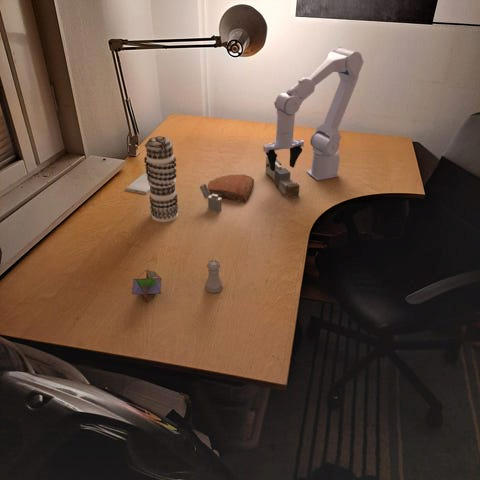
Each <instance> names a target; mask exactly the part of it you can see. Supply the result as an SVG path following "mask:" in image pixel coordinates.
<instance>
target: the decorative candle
mask: <svg viewBox="0 0 480 480" xmlns="http://www.w3.org/2000/svg"><path fill="white" fill-rule="evenodd" d="M173 146H174V143H173V141H171V140H170V139H169V138H168V137H166V136H153V137H150V138H149V139H148V140H147V142H145V143H144V148H145V149H146V150H145V151H146V154H145V157H144V158H143V159H144V160H143V161H144V163H145V164H144V166H145V174H147V177H148V178H147V180H148V184H149V185H150V192H149V197H148V199H149V203H150V207H149V208H150V213H151V214H150V215H151V219H153V221H155V222H159V223H160V222H161V223H169V222H172V221H175V220H176V219H177V218H178V217H179V204H178V194H177V190H176V183H177V179H176V178H177V174H176V173H177V168H176V167H177V158H176V157H175V155H174V151H173Z"/></svg>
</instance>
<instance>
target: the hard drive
mask: <svg viewBox="0 0 480 480" xmlns="http://www.w3.org/2000/svg"><path fill="white" fill-rule="evenodd" d="M147 178H148V177H147V173H146V172H144V173H142V174H141V175H139V177H137V179H135V180H134V181H132V182H131V183H130V184H129V185H128V186H126V187H125V191H128V192H132V193H133V192H134V193H139V194H142V195H143V194H144V195H148V194H150V185H149V184H148V180H147Z"/></svg>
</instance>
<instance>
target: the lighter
mask: <svg viewBox="0 0 480 480" xmlns="http://www.w3.org/2000/svg"><path fill="white" fill-rule="evenodd" d="M199 189H200V191H201V193H202V196H203V198H205V199H206V198H207V205H208V206H207V208H208V210H210V211H214V212H218V213H220V212H221V211H222V202H223V201H222V200H223V199H222V198H220V197H218V195H216V194H212V193H211V192H210V191H209V190H208V185H207V184H206V183H202V184H201V185H199Z"/></svg>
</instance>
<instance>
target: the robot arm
mask: <svg viewBox="0 0 480 480" xmlns="http://www.w3.org/2000/svg"><path fill="white" fill-rule="evenodd" d="M363 65H364V60H363V56H362V54H361V53H360V52H359V51H356V50H355V51H353V50H352V49H351V50H350V49H348V48H347V49H346V48H343V47H342V46H336V47H334V48H333V49H332V50H331V51H330V52H329V53H328V54H327V58H326V59H325V60H324V61H323V62H322V63H321V64H320V65H319V66H318V67H317V68H316V70H314V71H313V72H312V74H310V75H309V77H302V78H299V79H298V80H297V82H296V83H295V84H294V85H293V86H292V87H290V88H289V89H287V91H286V92H282V93H280V94H279V95H277V97H276V99H275V101H273V102H274V104H273V105H274V108H275V109H276V115H277V116H276V118H277V119H276V130H275V131H276V132H275V141H274V142H270V143H268V144H264V145H263V147H262V148H263V149H262V150H263V152H264V153H265V155H266V156H267V157H268V160H269V164H270V169H271V170H272V171H275V163H276V159H277V158H278V154H277V153H276V151H279V150H288V149H289V167H291V168H295V165H296V163H297V161H298V159H299V157H300V155H301V153H303V147H305V141H304V140H303V139H294V131H295V130H294V129H295V119H296V113H297V112H298V111H299V110H300V107H301V106H302V103H303V102H304V101H305V100H306V99H308V98H309V97H310V96H311V95H312V94H313V93H314V92H315V88H316V86H317V85H318V84H320V83H321V82H323V80H325V79H326V78H328V77H329V76H330V75H331V74H333V73H337V74H338V77H339V79H340V80H339V83H338V85H337V88H336V90H335V92H334V95H333V99H332V101H331V103H330V106H329V107H328V108H329V109H328V111H327V113H326V115H325V118H324V121H323V123H322V124H320V125H318V126H317V127H316V128H315V131H314V132H313V134H311V136H310V146H311V147H312V151H313V154H312V160H311V161H312V162H311V168H310V169H307V170H306V173H308V174H309V175H310V176H311V177H312V178H314V179H315V180H316V181H320V180H326V179H327V180H328V179H331V178H332V179H333V178H337V177H339V174H338V172H339V167H340V154H339V152H338V151H339V148H340V141H341V138H342V135H341V133H340V131H339V127H340V125H341V123H342V121H343V118H344V116H345V113H346V111H347V108H348V105H349V102H350V100H351V97H352V95H353V93H354V90H355V88H356V85H357V82H358V80H359V77H360V76H359V75H360V72H361V69H362V67H363Z"/></svg>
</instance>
